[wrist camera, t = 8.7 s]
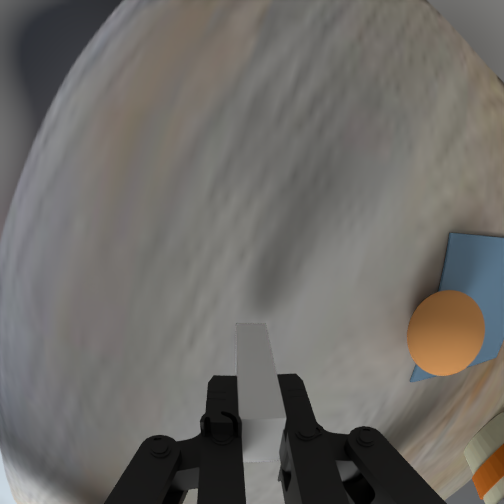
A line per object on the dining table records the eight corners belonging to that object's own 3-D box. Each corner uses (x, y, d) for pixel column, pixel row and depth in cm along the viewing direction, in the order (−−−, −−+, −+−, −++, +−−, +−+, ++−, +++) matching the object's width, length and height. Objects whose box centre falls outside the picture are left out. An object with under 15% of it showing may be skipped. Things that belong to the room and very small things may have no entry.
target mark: (409, 381, 19) (410, 382, 19) (449, 232, 16) (451, 233, 16) (495, 356, 20) (496, 357, 20) (529, 240, 17) (530, 241, 17)
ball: (426, 341, 19) (380, 358, 17) (447, 275, 18) (403, 281, 16) (477, 374, 14) (437, 404, 12) (507, 302, 13) (476, 319, 11)
